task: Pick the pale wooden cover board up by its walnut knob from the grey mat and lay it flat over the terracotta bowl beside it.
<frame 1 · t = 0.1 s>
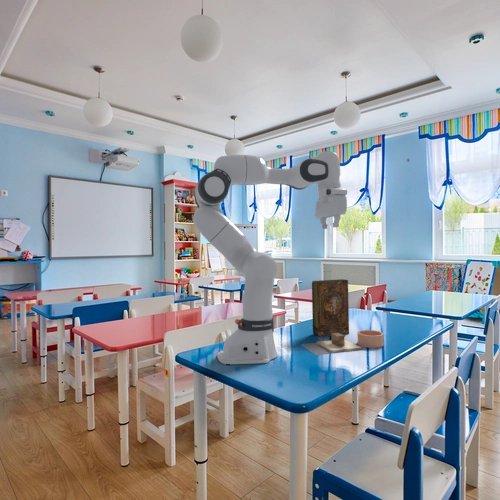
hand: (330, 228, 138), 48 cm above the table, tool pointing down, fingers open, 8 cm apart
cover board: (338, 346, 138), resting on mat
mat: (331, 348, 138), on the table
book: (331, 335, 159), on the table
bowl: (370, 345, 141), on the table
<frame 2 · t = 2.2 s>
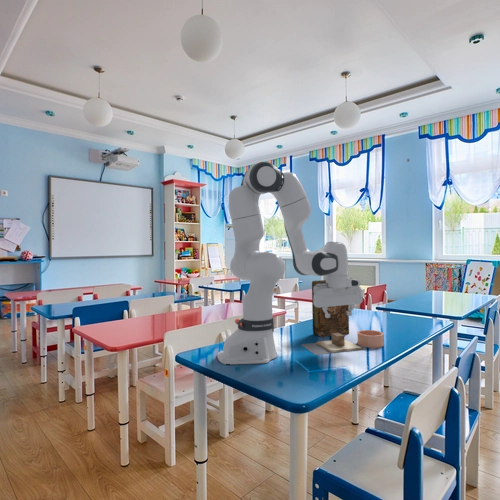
hand: (338, 316, 139), 12 cm above the table, tool pointing down, fingers open, 8 cm apart
nothing on the table moved.
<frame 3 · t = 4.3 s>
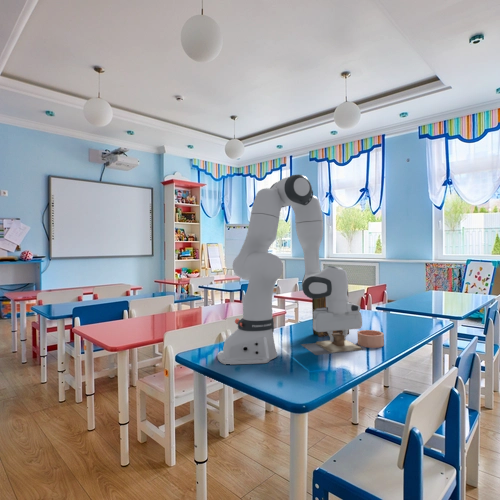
hand: (337, 341, 138), 3 cm above the table, tool pointing down, fingers closed on cover board, 3 cm apart
cover board: (338, 346, 138), resting on mat, touching gripper
everything else where it was.
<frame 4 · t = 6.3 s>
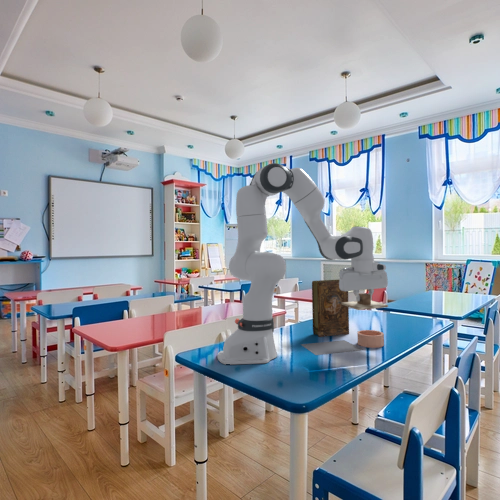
hand: (364, 300, 140), 18 cm above the table, tool pointing down, fingers closed on cover board, 3 cm apart
cover board: (364, 305, 140), point 16 cm above the table, touching gripper
everything else where it was.
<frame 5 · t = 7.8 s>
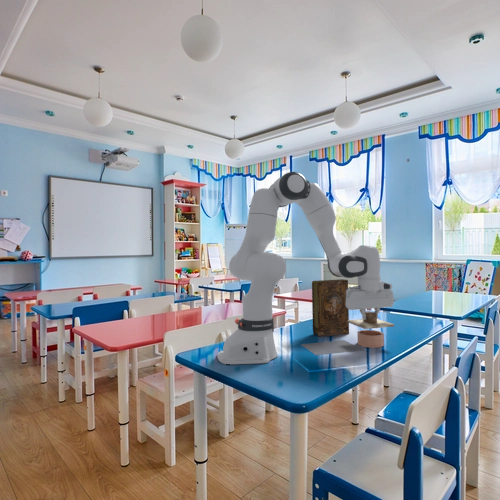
hand: (370, 319, 141), 11 cm above the table, tool pointing down, fingers closed on cover board, 3 cm apart
cover board: (370, 324, 141), point 9 cm above the table, touching gripper
everything else where it was.
when the fingers open (9 cm above the table, at t = 8.8 s): cover board drops 1 cm, resting on bowl.
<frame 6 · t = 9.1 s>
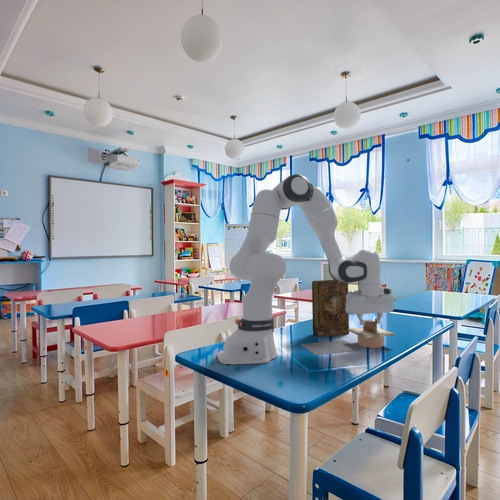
hand: (370, 324, 141), 9 cm above the table, tool pointing down, fingers open, 5 cm apart
cover board: (370, 332, 141), point 5 cm above the table, touching bowl
everything else where it was.
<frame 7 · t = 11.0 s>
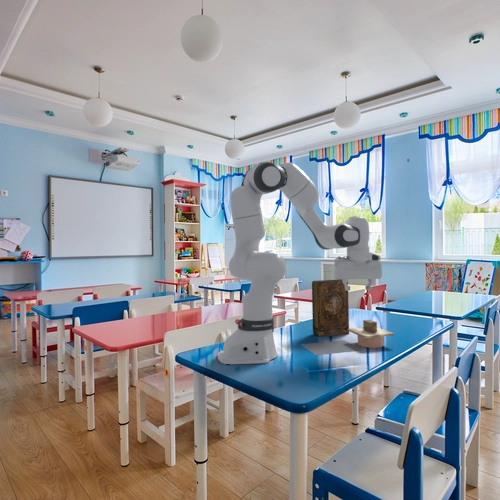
hand: (357, 290, 142), 22 cm above the table, tool pointing down, fingers open, 8 cm apart
nothing on the table moved.
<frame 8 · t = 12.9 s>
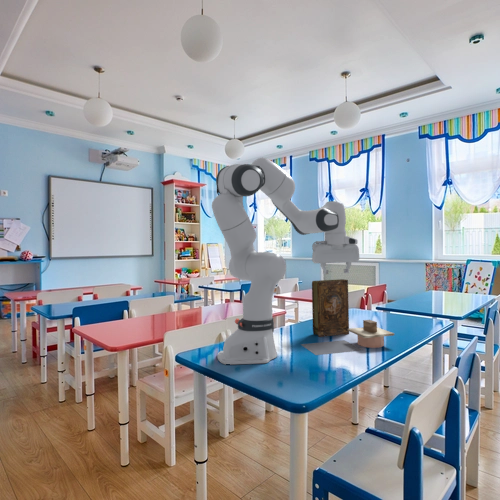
hand: (336, 273, 145), 29 cm above the table, tool pointing down, fingers open, 8 cm apart
nothing on the table moved.
at the end: cover board 0.1 cm off-centre on the bowl, point 5.0 cm above the bowl's base; cover board tilted 0°; the gripper is holding nothing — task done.
